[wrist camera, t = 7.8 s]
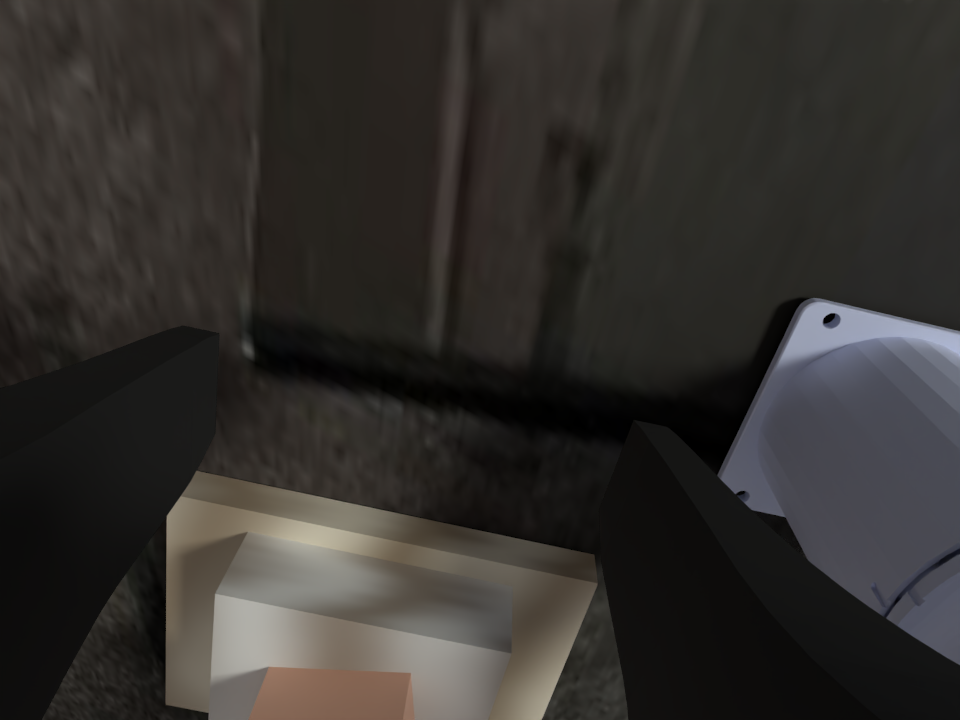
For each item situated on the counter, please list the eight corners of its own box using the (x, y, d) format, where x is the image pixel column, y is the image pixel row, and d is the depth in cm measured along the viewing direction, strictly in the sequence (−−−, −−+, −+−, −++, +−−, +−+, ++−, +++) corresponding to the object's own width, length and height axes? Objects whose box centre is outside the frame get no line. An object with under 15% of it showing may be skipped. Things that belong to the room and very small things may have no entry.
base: (594, 554, 26) (607, 651, 22) (519, 741, 32) (519, 846, 28) (185, 468, 26) (122, 552, 22) (181, 675, 31) (130, 772, 27)
